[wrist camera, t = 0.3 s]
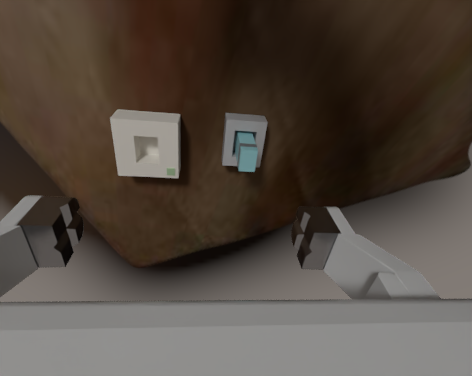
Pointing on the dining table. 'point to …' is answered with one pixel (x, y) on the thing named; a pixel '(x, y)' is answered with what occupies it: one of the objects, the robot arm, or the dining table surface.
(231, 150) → the holster
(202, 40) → the dining table surface
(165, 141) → the port block
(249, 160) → the plug
